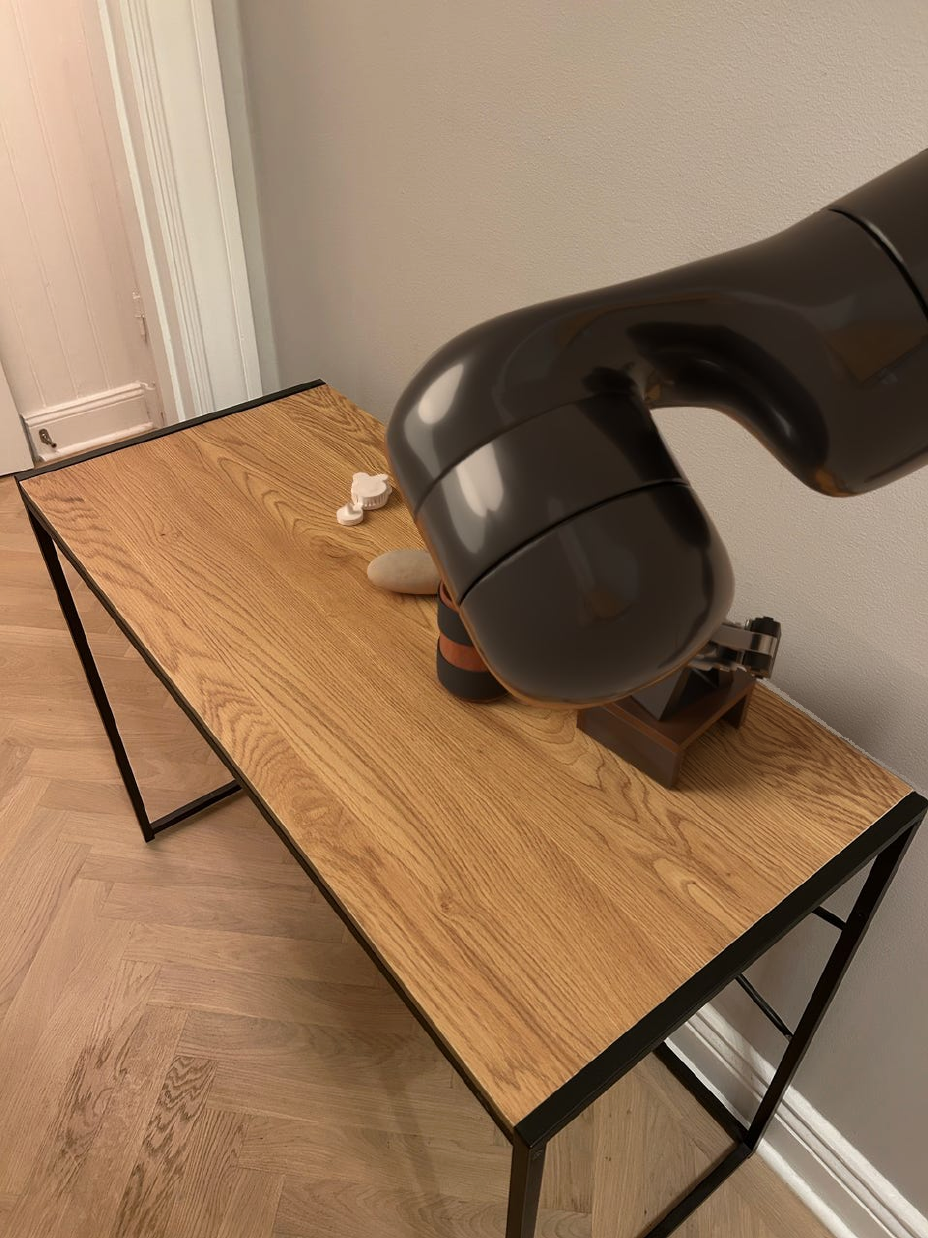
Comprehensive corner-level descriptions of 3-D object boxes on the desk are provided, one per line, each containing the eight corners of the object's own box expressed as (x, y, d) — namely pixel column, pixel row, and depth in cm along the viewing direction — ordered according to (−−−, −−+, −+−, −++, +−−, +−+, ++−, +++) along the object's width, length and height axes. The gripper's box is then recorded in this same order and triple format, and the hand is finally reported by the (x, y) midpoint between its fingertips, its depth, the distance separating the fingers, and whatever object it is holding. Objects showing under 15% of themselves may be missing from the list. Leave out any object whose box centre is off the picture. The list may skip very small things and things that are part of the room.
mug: (566, 677, 95) (574, 587, 87) (461, 718, 91) (459, 626, 83) (523, 628, 101) (527, 539, 93) (422, 664, 97) (418, 574, 89)
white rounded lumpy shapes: (327, 488, 123) (326, 474, 121) (391, 478, 124) (390, 464, 123) (339, 527, 116) (337, 513, 114) (407, 516, 117) (406, 502, 116)
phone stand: (688, 647, 89) (708, 544, 82) (733, 684, 86) (759, 580, 78) (614, 682, 86) (627, 578, 78) (658, 723, 82) (677, 618, 74)
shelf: (745, 722, 90) (765, 645, 84) (669, 791, 84) (685, 713, 77) (652, 667, 96) (665, 590, 90) (575, 727, 90) (583, 649, 83)
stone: (365, 553, 107) (465, 521, 106) (384, 603, 109) (482, 572, 108) (359, 569, 102) (465, 536, 100) (379, 621, 104) (483, 589, 102)
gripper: (810, 549, 39) (787, 600, 55) (491, 483, 43) (554, 549, 59) (766, 723, 39) (756, 725, 54) (449, 640, 43) (523, 664, 59)
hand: (651, 634), depth 57 cm, fingers open, 8 cm apart
